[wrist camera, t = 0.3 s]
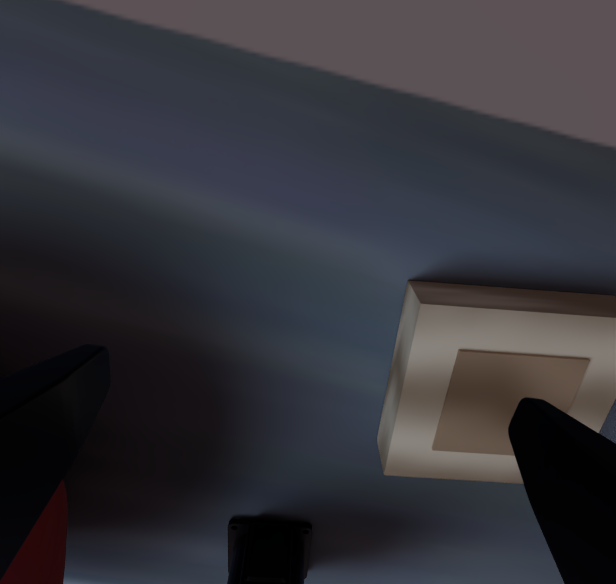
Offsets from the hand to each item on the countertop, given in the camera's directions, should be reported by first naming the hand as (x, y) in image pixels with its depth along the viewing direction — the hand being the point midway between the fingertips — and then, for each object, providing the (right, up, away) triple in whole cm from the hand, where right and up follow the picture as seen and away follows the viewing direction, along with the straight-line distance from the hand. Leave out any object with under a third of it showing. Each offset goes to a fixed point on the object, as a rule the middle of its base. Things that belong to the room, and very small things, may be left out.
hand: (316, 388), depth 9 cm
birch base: (+11, -3, +17) cm, 21 cm away
